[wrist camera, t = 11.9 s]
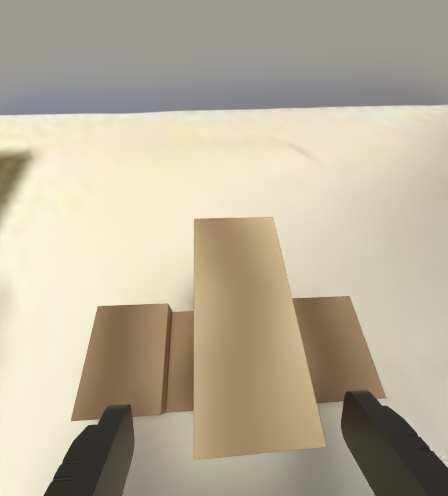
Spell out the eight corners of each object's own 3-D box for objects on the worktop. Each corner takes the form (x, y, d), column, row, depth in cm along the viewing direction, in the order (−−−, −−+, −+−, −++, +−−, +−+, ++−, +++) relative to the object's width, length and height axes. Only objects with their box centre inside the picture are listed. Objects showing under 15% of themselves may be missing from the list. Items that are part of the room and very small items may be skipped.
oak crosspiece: (250, 281, 19) (273, 217, 12) (270, 421, 14) (326, 446, 7) (200, 284, 18) (193, 218, 12) (202, 428, 13) (193, 460, 7)
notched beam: (333, 307, 18) (349, 296, 16) (362, 397, 15) (386, 398, 13) (111, 317, 17) (97, 306, 15) (91, 417, 14) (70, 421, 12)
